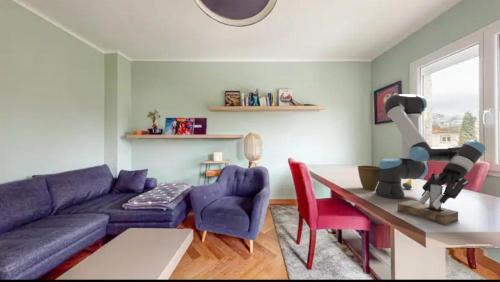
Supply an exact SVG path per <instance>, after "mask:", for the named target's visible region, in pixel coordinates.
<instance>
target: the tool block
mask: <svg viewBox="0 0 500 282" xmlns="http://www.w3.org/2000/svg"><path fill="white" fill-rule="evenodd" d="M397 212H400V213H403V214H406V215H410V216H413V217H415V218H420V219H421V220H426V221H429V222H432V223H436V224H438V225H442V226H447V225H451V224H452V223H456V222H458V221H459V211H457V210H453V209H450V208H449V209H448V208H445V207H441V212H436V211H433V210H429V204H428V203H425V204H424V205H422V204H421V203H420V201H416V200H412V199H409V200H405V201H401V202H398V203H397Z"/></svg>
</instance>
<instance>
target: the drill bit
mask: <svg viewBox="0 0 500 282" xmlns="http://www.w3.org/2000/svg"><path fill="white" fill-rule="evenodd" d="M402 188H404V189H405V190H408V191H410V190H411V189H412V188H413V186H412V179H408V180H407V181H405V182H403V183H402Z"/></svg>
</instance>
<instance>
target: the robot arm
mask: <svg viewBox="0 0 500 282" xmlns="http://www.w3.org/2000/svg"><path fill="white" fill-rule="evenodd" d="M427 105H428V103H427V100H426V98H425V97H424V96H423V95H421V94H415V93H412V94H403V93H402V94H399V93H398V94H393V95H391V96H389V97H388V98H387V99H386V100H385V102H384V103H383V106H384V107H383V109H384V110H383V111H384V113H385V116H387V118H391V120H392V122H393V124H394V125H395V127H396V128H397V130H398V131H399V133H400V135H401V156H399V158H396V157H395V158H392V157H391V158H383V159H380V160H379V164H378V167H379V182H378V185H377V187H376V189H375V195H377V196H380V197H382V198H388V199H394V200H395V199H396V200H397V199H398V200H402V199H405V198H406V197H405V191H404V189H403V188H404V187H403V185H402V180H410V179H411V180H420V179H423V178H425V177H426V176H427V174H428V172H429V166H428V164H427V163H426V162H441V163H446V162H447V164H446V165H445V166H444V167H443V169H442V171H441V172H440V173H439V174H435V173H432V174H431V176H430V177H429V179H427V181H426V182H425V183H424V184H423V186H422V187H421V188H422V190H423V192H422V194H421V197H420V198H419V200H418V202H420V203H421V204H422V205H424V204H427V201H429V200H430V187H431V184H435V185H441V186H444V185H445V184H446V186H445V189H444V192H442V194H440V196H439V197H438V198H437V199H436V200H435V202H434V203H433V204H432V205H433V206H434V208H435V209H438V208H439V207H440V205H441V206H442V204H446V202H447V201H448V199H456V198H457V197H458V195H459V194H460V193H461V192H462V190H463V189H464V188H465V186H467V185H469V182H468V180H467V178H465V177H466V176H467V174H469V172H470V171H471V169H472V168H473V167H474V166H475V165H476V163H477V162H478V161H479V159H481V157H482V156H484V155H483V154H484V153H485V151H486V150H487V149H486V148H487V147H486V146H485V145H484V144H483V143H481V142H480V141H477V140H476V141H475V140H467V141H465V142H463V144H462V145H457V146H444V147H443V146H430V145H429V144H428V142H427V141H426V139H425V138H424V137H423V135H422V134H421V132H420V127H419V125H420V123H419V122H420V121H419V120H420V119H419V118H420V117H421V116H422V115H423V112H425V110H426V108H427Z"/></svg>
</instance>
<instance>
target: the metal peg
mask: <svg viewBox="0 0 500 282" xmlns="http://www.w3.org/2000/svg"><path fill="white" fill-rule="evenodd" d="M443 186H444V185H435V184H431V187H430V198H429V199H428V203H429V210H433V211H436V212H441V208H442V204H441V205H440V207H439V208H438V209H435V208H434V206H433V205H432V204H433V203H434V202H435V200H436V199H437V198H438V197H439V196H440V194H443Z"/></svg>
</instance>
